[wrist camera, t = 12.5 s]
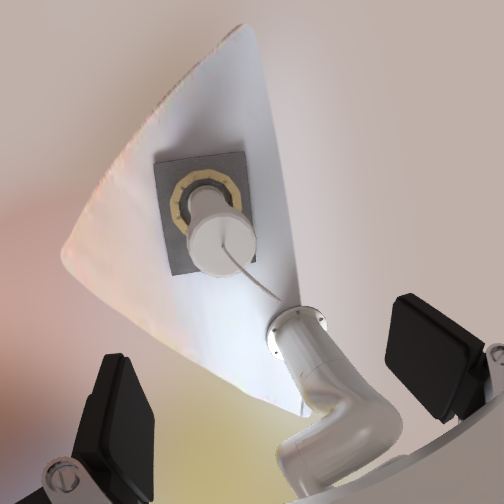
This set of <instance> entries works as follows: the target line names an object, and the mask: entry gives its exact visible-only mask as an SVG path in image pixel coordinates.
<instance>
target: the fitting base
mask: <svg viewBox="0 0 504 504" xmlns="http://www.w3.org/2000/svg"><path fill="white" fill-rule="evenodd" d="M153 166H154V174H155V181H156V188H157V195H158V201H159V208H160V214H161V220H162V226H163V231H164V237H165V242H166V248H167V253H168V258H169V263H170V268H171V273H172V276H174V275H181V274H187V273H193V272H199V271H201V270H200V269H199V268H197V267H196V266H195V265H194V263H193V261H192V259H191V257H190V255H189V250H188V248H187V230H188V227H189V225H190V222H191V214H190V212H189V210H188V199H189V196H190V194H191V193H192V192H193V191H194V190H195V189H196V188H197V187H200V186H202V185H211V186H213V187H216V188H218V189H219V190H220V191H221V192H222V193H223V196H224V198H225V201H226V202H227V203H228V205H229V206H230V207H233V208H235V209H238V210H239V211H240V212H241V213H242V214H243V215H244V216H245V217H246V218H247V219H248V220H249V222H250V224H251V225H252V216H251V207H250V197H249V187H248V178H247V168H246V159H245V151H244V152H234V153H225V154H217V155H209V156H202V157H195V158H188V159H181V160H175V161H169V162H163V163H157V164H153ZM252 228H253V226H252ZM253 262H256V255H255V254H254V256H253V258H252V261H251V263H253Z"/></svg>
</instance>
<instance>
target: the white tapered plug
mask: <svg viewBox="0 0 504 504" xmlns="http://www.w3.org/2000/svg"><path fill="white" fill-rule="evenodd" d="M188 210H189V212H190V214H191V222H190V225H189V227H188V230H187V248H188V250H189V255H190V257H191V259H192V261H193V263H194V265H195V266H196V267H197V268H199V269H200V270H201V271H202V272H203V273H205V274H208V275H211V276H214V277H230V276H232V275H235V274H237V273H239V272H241V271H242V272H243V273H244V274H245V275H246V276H247V277H248V278H249V279H250V280H252V281H253V282H254V283H255V284H256V285H257V286H259V287H260V288H261V289H262V290H263V291H265V292H266V293H267V294H268V295H270V296H271V297H272V298H274V299H275V300H276V301H278V302H279V303H281V301H282V300H280V299H279V298H278V297H276V296H275V295H274V294H272V293H271V292H270V291H269V290H267V289H266V288H265V287H264V286H262V285H261V284H260V283H259V282H258V281H256V280H255V279H254V278H253V277H252V276H251V275H250V274H249V273H247V272H246V271H245V270H244V268H246V267H247V266H248V265H249V264H250V263H251V261H252V258H253V256H254V254H255V252H256V235H255V233H254V230H253V228H252V225H251V224H250V222H249V220H248V219H247V218H246V217H245V216H244V215H243V214H242V213H241V212H240V211H239V210H238V209H235V208H233V207H230V206H229V205H228V203H227V202H226V201H225V198H224V196H223V193H222V192H221V191H220V190H219V189H218V188H216V187H213V186H211V185H202V186H200V187H197V188H196V189H195V190H194V191H193V192H192V193H191V194H190V196H189V199H188Z"/></svg>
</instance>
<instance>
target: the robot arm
mask: <svg viewBox="0 0 504 504" xmlns="http://www.w3.org/2000/svg"><path fill="white" fill-rule="evenodd" d="M327 329H328V326H327V322H326V319H325V317H324V316H323V315H322V313H321V312H320V311H318V310H317V309H315V308H313V307H309V306H298V307H294V308H291V309H288V310H286V311H285V312H283V313H281V314H280V315H279V316H278V317H277V318H276V319H275V320H274V321H273V322H272V324H271V325H270V327H269V329H268V332H267V345H268V348H269V350H270V351H271V353H272V354H273V355H274V356H275V357H277V358H278V359H280V360H284V362H285V364H286V366H287V368H288V370H289V372H290V374H291V376H292V379H293V380H294V382H295V384H296V386H297V388H298V390H299V392H300V394H301V396H302V398H303V400H304V402H305V403H306V405H307V406H308V407H309V408H310V409H312V410H313V411H315V412H316V413H318V414H321V415H324V416H325V417H323V418H321V420H319V421H318V422H316V423H314V424H313V425H311V426H309V427H307V428H306V429H304V430H302V431H301V432H299V433H297V434H295V435H293V436H291V437H290V438H288V439H286V440H285V441H284V442H282V443H281V444H280V445H279V447H278V448H277V450H276V461H277V464H278V467H279V469H280V471H281V473H282V475H283V476H284V478H285V480H286V482H287V483H288V485H289V486H290V488H291V489H292V491H293V493H294V494H295V496H296V497H297V499H298V500H296V501H292V502H289V503H285V504H504V344H500V343H497V344H493V345H490V346H489V347H488V348H487V351H486V353H484V352H483V348H484V345H485V343H483V342H482V341H481V340H479V339H478V338H477V337H475V336H474V335H473V334H471V333H470V332H468V331H467V330H465V329H464V328H463V327H461V326H460V325H458V324H457V323H456V322H454V321H453V320H451V319H450V318H448V317H447V316H445V315H444V314H443V313H441V312H440V311H438V310H437V309H435V308H434V307H432V306H431V305H429V304H428V303H426V302H425V301H423V300H422V299H420V298H419V297H417V296H415V295H414V294H412V293H408V294H405V295H402V296H399V297H397V299H396V301H395V302H394V304H393V308H392V316H391V323H390V330H389V336H388V342H387V348H386V354H385V363H386V365H387V367H388V368H389V369H390V370H391V371H392V372H393V374H395V376H396V377H397V378H398V379H399V380H400V381H401V382H402V383H403V384H404V385H405V387H407V389H408V390H409V391H410V392H411V393H412V394H413V395H414V396H415V397H416V399H417V400H418V401H419V402H420V403H421V404H422V405H423V406H424V407H425V408H426V409H427V411H428V412H429V413H430V414H431V415H432V416H433V417H434V418H435V419H439V420H440V421H441V422H442V423H443V424H445V423H446V422H448V421H449V420H451V419H452V418H453V417H454V416H455V414H456V415H457V416H458V425H457V426H455V427H454V428H453V429H451V430H449V431H448V432H446V433H445V434H443V435H442V436H440V437H438V438H437V439H435V440H434V441H432V442H430V443H429V444H427V445H425V446H424V447H422V448H420V449H418V450H417V451H415V452H413V453H411V454H410V455H399V456H397V457H394V458H392V459H390V460H389V461H387V462H385V463H383V464H382V465H380V466H378V467H377V468H375V469H373V470H372V471H370V472H369V473H367V474H365V475H364V476H362V477H361V478H359V479H357V480H355V481H352V482H349V483H347V484H344V485H342V486H339V487H334V486H332V485H331V484H333V483H335V482H337V481H339V480H341V479H342V478H344V477H346V476H348V475H350V474H351V473H353V472H355V471H357V470H359V469H360V468H362V467H364V466H365V465H367V464H369V463H370V462H372V461H373V460H375V459H376V458H378V457H379V456H381V455H382V454H383V453H385V452H386V451H387V450H389V449H390V448H391V447H392V446H393V445H394V444H395V443H396V442H397V440H398V439H399V437H400V435H401V433H402V430H403V421H402V418H401V416H400V414H399V412H398V411H397V409H396V408H395V407H394V406H393V405H392V404H391V403H390V402H389V401H388V400H387V399H385V398H384V397H383V396H382V395H381V394H379V393H378V392H377V391H376V390H375V389H374V388H373V387H371V386H370V385H369V384H368V383H367V382H366V380H365V379H364V378H363V377H362V376H361V375H360V374H359V372H358V371H357V370H356V369H355V367H354V366H353V365H352V364H351V362H350V361H349V360H348V359H347V357H346V356H345V355H344V353H343V352H342V351H341V350H340V348H339V347H338V346H337V345H336V344H335V342H334V341H333V340H332V339H331V338H330V336H329V335H328V333H327ZM154 424H155V419H154V414H153V412H152V409H151V407H150V405H149V403H148V401H147V399H146V396H145V394H144V392H143V390H142V387H141V385H140V383H139V380H138V378H137V376H136V373H135V371H134V368H133V366H132V363H131V361H130V359H129V358H128V357H124V355H123V354H122V353H116V354H106V355H105V356H104V358H103V361H102V364H101V367H100V370H99V373H98V376H97V379H96V382H95V385H94V388H93V392H92V394H90V395H89V396H88V398H87V400H86V404H85V407H84V410H83V414H82V417H81V421H80V425H79V428H78V432H77V436H76V439H75V443H74V447H73V451H72V456H71V457H58V458H56V459H53V460H52V461H50V462H49V463H47V465H46V466H45V467H44V469H43V472H42V475H41V482H42V485H43V487H41V488H40V489H38V490H37V491H35V492H33V493H32V494H30V495H28V496H27V497H25V498H24V499H22V500H20V501H18V502H17V503H15V504H149V502H152V501H153V499H154V492H153V490H154V488H153V461H154V460H153V459H154Z"/></svg>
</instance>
